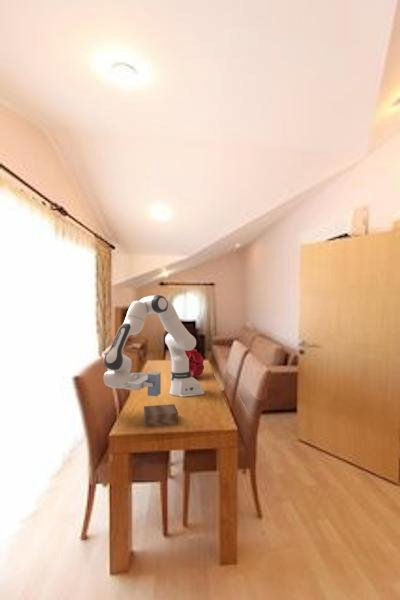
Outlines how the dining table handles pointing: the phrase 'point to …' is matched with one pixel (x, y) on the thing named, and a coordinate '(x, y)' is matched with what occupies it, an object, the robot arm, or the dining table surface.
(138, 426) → the dining table surface
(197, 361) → the bouquet
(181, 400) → the dining table surface
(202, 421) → the dining table surface
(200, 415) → the dining table surface
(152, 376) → the slate tin
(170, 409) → the walnut box
